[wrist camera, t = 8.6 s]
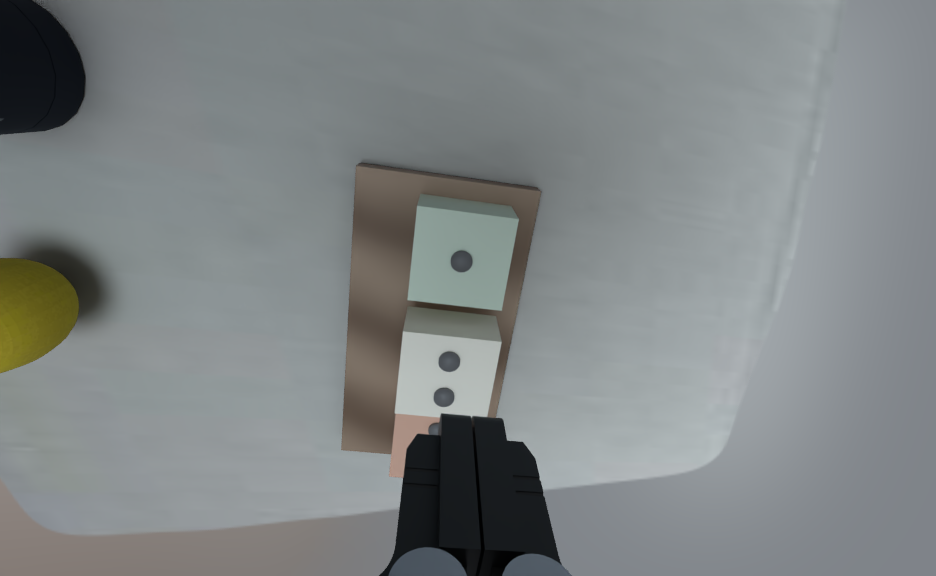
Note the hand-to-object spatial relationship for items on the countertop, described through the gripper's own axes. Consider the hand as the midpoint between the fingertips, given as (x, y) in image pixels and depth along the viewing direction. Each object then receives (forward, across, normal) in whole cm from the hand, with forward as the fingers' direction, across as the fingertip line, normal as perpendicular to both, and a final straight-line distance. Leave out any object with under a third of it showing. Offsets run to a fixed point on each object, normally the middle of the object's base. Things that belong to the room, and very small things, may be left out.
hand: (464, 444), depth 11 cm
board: (+17, +1, +6) cm, 18 cm away
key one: (+16, 0, 0) cm, 16 cm away
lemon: (+18, +23, +6) cm, 29 cm away
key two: (+14, 0, +6) cm, 16 cm away
